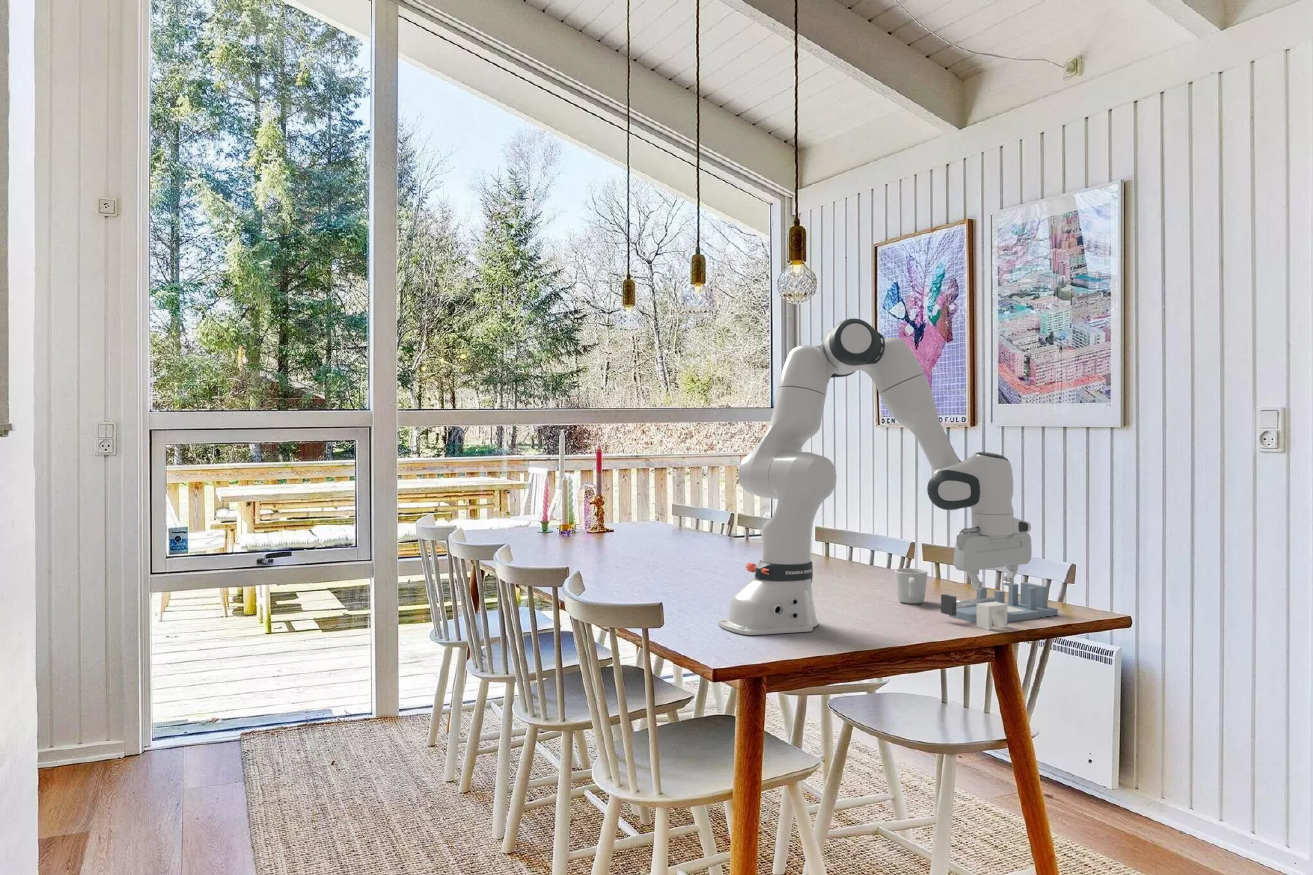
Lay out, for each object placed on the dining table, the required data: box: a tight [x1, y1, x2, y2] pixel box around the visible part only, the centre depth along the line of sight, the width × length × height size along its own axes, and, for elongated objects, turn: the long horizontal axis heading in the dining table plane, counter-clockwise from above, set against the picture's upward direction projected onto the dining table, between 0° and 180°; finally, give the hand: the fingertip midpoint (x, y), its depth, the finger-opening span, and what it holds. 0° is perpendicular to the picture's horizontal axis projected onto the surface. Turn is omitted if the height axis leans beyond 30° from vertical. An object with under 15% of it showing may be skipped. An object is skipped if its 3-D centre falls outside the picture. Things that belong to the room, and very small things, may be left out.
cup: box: [894, 567, 928, 605], centre depth 237 cm, size 11×8×8 cm
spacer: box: [975, 602, 1008, 631], centre depth 210 cm, size 4×6×5 cm, turn 115°
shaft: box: [940, 593, 994, 617], centre depth 217 cm, size 14×4×4 cm, turn 115°
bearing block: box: [948, 581, 1059, 624], centre depth 222 cm, size 23×11×6 cm, turn 115°
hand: (993, 587), depth 210 cm, fingers open, 8 cm apart
